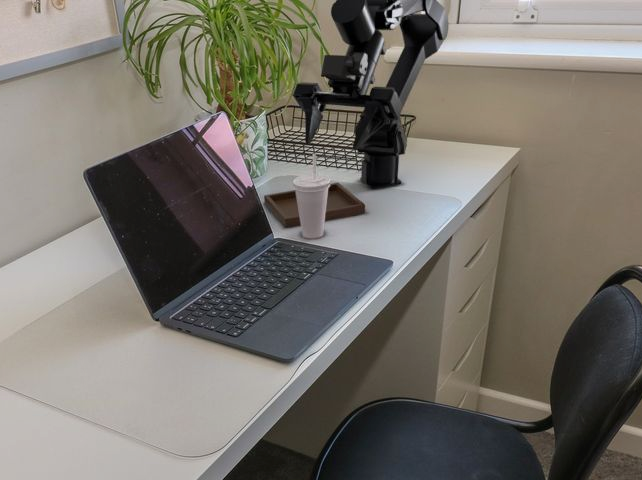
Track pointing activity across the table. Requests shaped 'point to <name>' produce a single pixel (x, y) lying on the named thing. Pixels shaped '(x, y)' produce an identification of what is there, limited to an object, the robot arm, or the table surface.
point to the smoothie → (312, 201)
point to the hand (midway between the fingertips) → (330, 146)
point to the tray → (336, 207)
